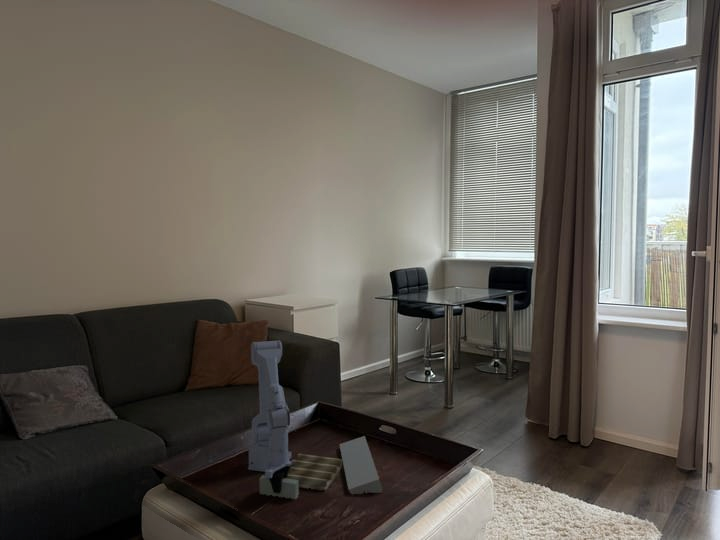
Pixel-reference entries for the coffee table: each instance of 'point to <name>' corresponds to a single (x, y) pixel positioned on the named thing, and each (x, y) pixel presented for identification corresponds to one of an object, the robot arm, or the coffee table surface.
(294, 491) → the clay strip
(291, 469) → the ribbed tan slab
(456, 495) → the coffee table surface
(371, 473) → the grey rectangular block
